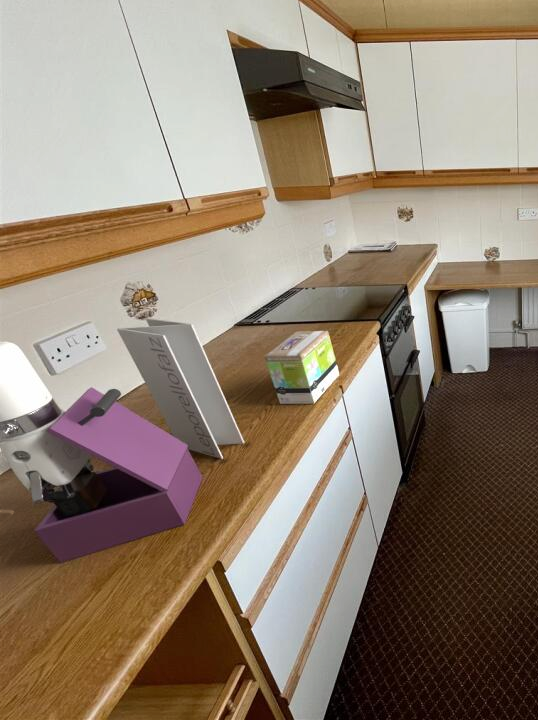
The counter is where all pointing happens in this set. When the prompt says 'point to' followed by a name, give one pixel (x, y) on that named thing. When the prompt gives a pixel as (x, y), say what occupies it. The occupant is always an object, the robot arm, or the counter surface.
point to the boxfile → (122, 513)
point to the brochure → (182, 384)
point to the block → (88, 489)
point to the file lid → (120, 438)
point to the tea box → (302, 367)
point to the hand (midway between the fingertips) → (85, 501)
